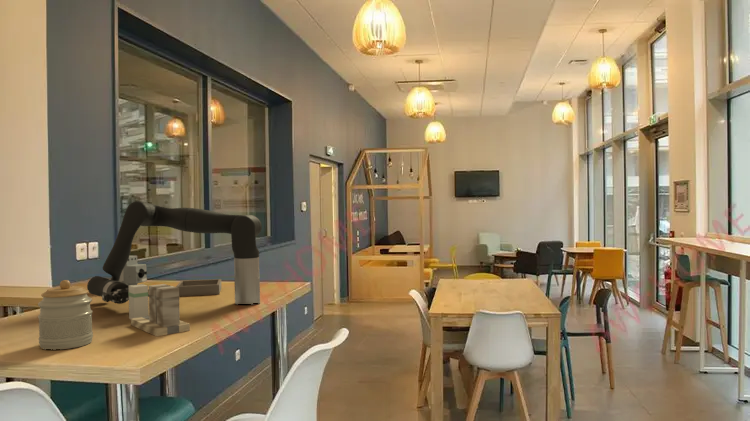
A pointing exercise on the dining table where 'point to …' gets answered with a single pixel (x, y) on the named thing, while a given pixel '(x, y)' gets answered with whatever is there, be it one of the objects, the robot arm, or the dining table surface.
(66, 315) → the jar
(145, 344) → the dining table surface
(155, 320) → the grey marble bookend
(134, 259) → the circuit breaker
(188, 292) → the coaster tray
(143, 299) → the block
